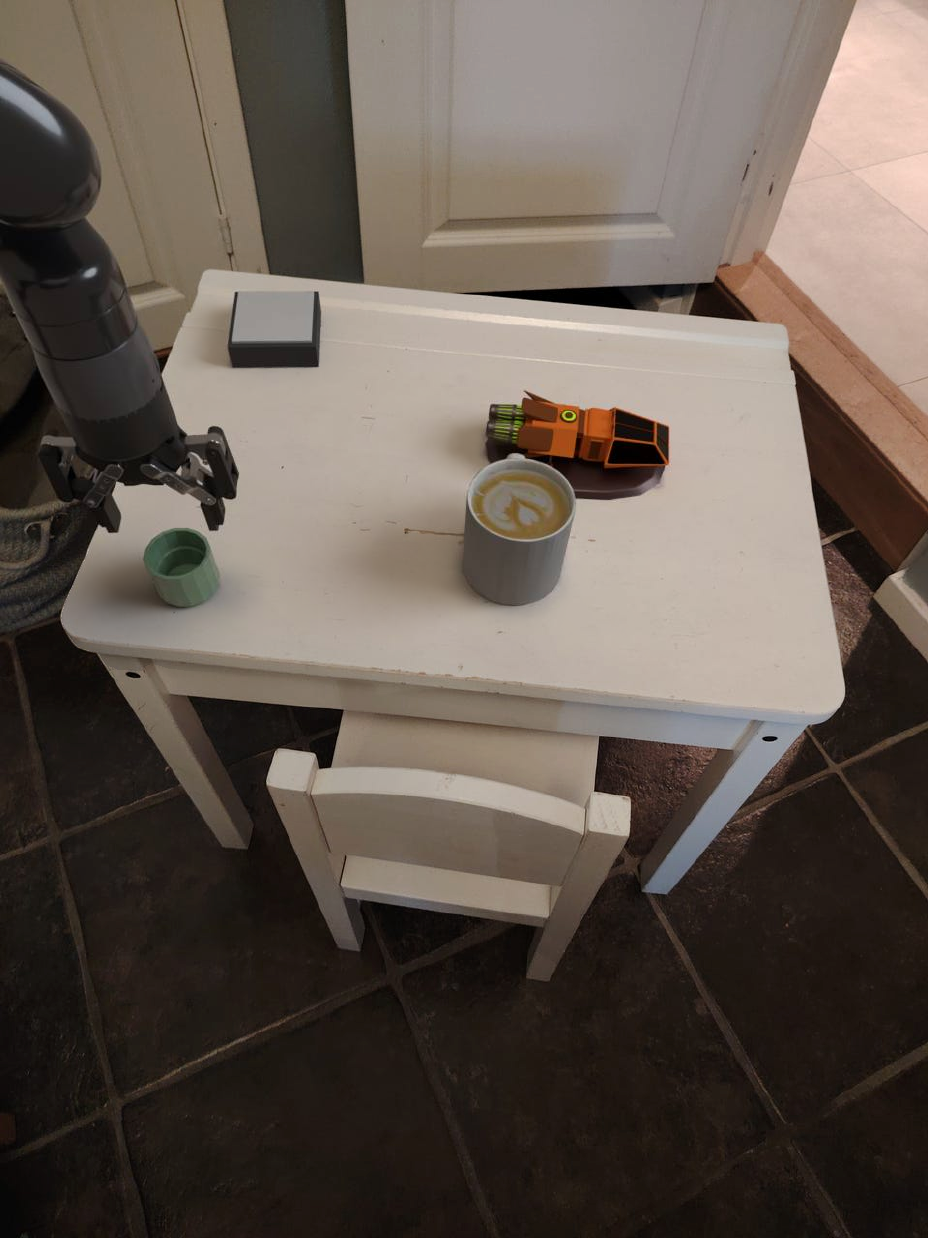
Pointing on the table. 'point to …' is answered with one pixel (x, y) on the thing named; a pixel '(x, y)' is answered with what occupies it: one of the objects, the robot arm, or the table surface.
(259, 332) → the scale
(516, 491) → the coffee mug
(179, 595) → the green cup
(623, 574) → the table surface
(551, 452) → the toy spacecraft
